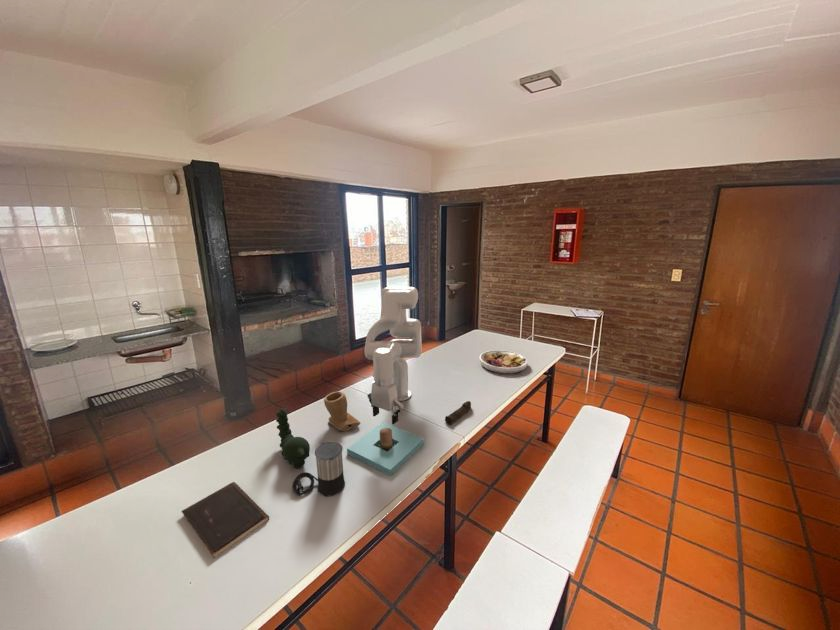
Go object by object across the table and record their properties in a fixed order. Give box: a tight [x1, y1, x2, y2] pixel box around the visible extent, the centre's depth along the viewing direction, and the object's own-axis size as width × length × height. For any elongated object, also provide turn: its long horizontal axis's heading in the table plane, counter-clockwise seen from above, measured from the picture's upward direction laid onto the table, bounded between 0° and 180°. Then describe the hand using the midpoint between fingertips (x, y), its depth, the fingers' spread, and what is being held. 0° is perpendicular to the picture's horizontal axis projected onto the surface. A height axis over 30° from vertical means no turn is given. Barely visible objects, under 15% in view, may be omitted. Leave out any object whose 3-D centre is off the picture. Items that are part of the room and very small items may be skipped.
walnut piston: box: [379, 428, 394, 452], centre depth 134 cm, size 5×5×8 cm
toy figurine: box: [275, 408, 311, 469], centre depth 128 cm, size 9×19×25 cm
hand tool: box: [444, 400, 472, 426], centre depth 158 cm, size 19×4×5 cm, turn 136°
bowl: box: [479, 349, 528, 374], centre depth 215 cm, size 30×30×8 cm
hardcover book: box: [181, 481, 270, 558], centre depth 103 cm, size 16×23×2 cm
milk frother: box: [291, 440, 346, 497], centre depth 113 cm, size 14×16×15 cm
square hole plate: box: [346, 421, 425, 477], centre depth 135 cm, size 22×22×2 cm
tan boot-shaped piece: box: [323, 391, 361, 432], centre depth 150 cm, size 15×12×15 cm
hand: (385, 418), depth 132 cm, fingers open, 9 cm apart
